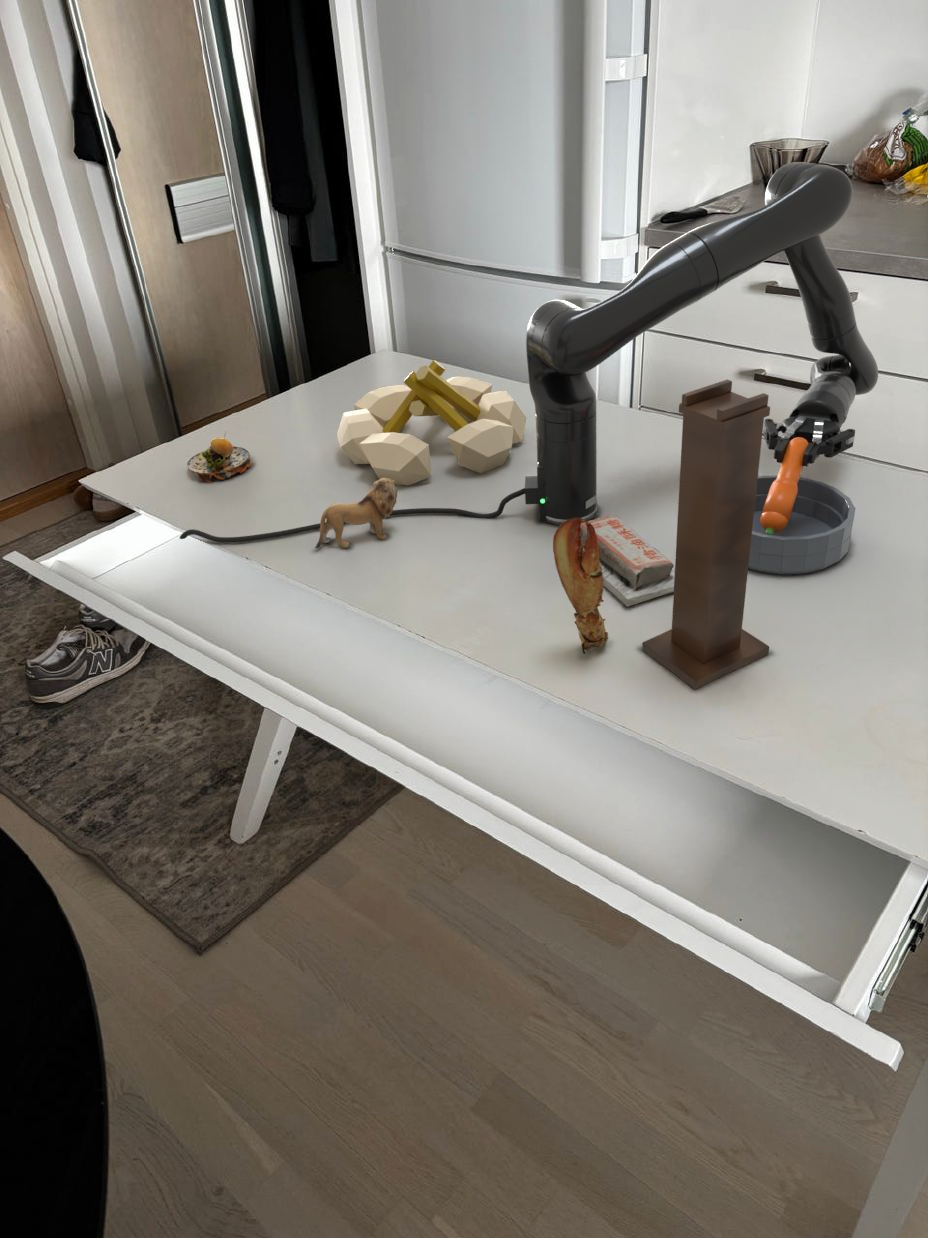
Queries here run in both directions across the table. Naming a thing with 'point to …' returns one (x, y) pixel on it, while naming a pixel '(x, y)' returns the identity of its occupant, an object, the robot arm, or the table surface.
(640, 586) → the packaged product
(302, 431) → the table surface
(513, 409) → the campfire
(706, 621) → the stand
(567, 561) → the crab claw
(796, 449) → the carrot
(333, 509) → the lion figurine
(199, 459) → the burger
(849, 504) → the bowl
